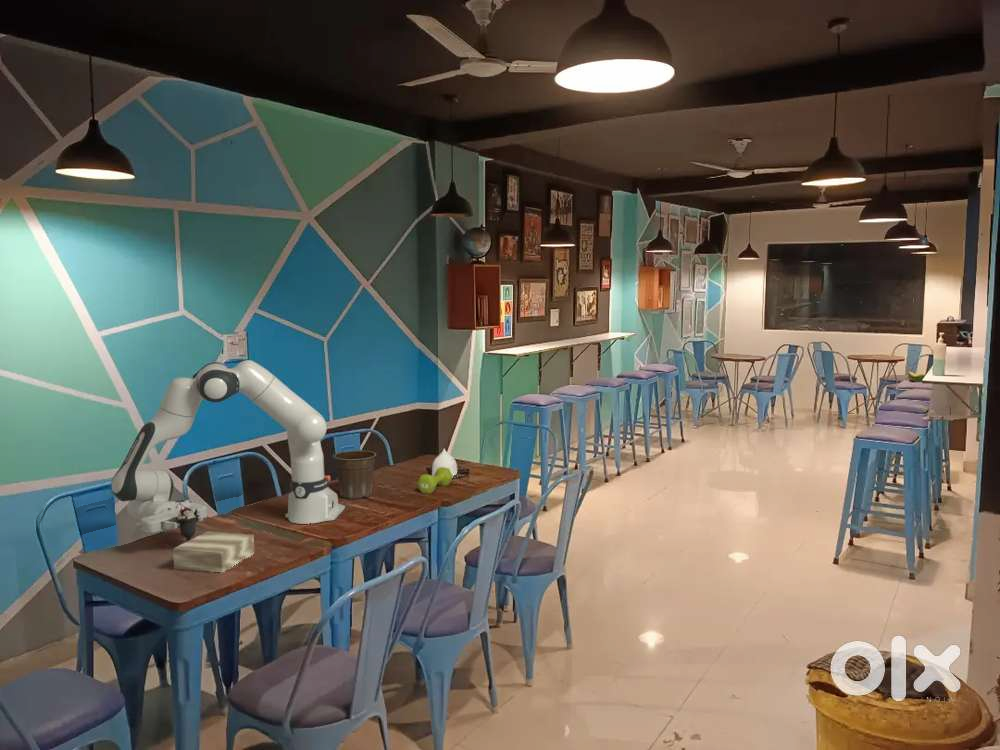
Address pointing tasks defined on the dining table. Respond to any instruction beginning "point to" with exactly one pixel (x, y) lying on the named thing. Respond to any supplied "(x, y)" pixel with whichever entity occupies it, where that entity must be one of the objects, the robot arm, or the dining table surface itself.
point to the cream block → (213, 551)
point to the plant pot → (355, 473)
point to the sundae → (187, 522)
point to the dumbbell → (434, 480)
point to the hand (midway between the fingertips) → (189, 522)
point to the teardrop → (445, 463)
